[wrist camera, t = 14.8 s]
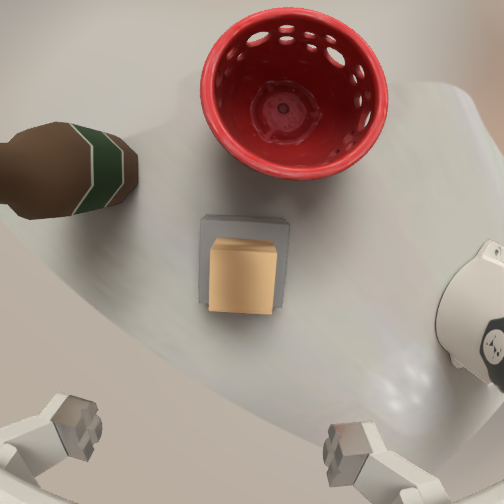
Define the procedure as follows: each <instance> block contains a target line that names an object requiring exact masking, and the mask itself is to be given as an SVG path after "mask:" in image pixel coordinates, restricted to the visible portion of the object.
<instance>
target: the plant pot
mask: <svg viewBox="0 0 504 504" xmlns="http://www.w3.org/2000/svg"><path fill="white" fill-rule="evenodd" d="M283 25H291V26H294V27H292V28H280V27H281V26H283ZM258 32H268V33H269V34H268V35H267V36H265V37H264V38H262V39H259V40H256V41H253V42H247V40H248V39H249V38H250V37H251V36H252V35H254V34H256V33H258ZM305 32H310V33H313V34H315V35H310V34H307V33H305ZM327 35H329V36H332V37H333V38H334V39H335V40H336V41H335V40H332V39H331V38H329V37H328V36H327ZM283 36H290V37H293V38H294V39H292V40H288V41H284V40H280V38H281V37H283ZM307 44H310V45H314V46H316V47H317V48H312V47H309V46H308V45H307ZM327 47H331V48H333V49H335V50H337V51H338V52H339V53H341V54H342V55H343V57H344V60H345V66H343V65H341V64H339V63H338V62H336V61H335V60H334V59H333V58H332V57H331V56H330V55H329V53H328V51H327ZM241 53H242V54H241ZM240 54H241V55H240ZM239 55H240V56H239ZM238 56H239V57H238ZM359 65H361V67H362V68H363V71H364V75H363V74H362V72H361V70H360V66H359ZM353 75H355V77H356V79H357V83H356V81H355V80H354V77H353ZM360 95H361V97H362V104H361V106H360V102H359V99H360ZM200 98H201V105H202V109H203V113H204V116H205V118H206V121H207V123H208V125H209V127H210V129H211V131H212V133H213V134H214V136H215V137H216V139H217V140H218V141H219V143H220V144H221V145H222V146H223V147H224V148H225V149H226V150H227V151H228V152H229V153H230V154H231V155H232V156H233V157H234V158H236V159H237V160H238V161H240V162H241V163H243V164H244V165H246V166H248V167H249V168H251V169H253V170H255V171H257V172H259V173H262V174H264V175H267V176H270V177H275V178H279V179H286V180H313V179H320V178H324V177H328V176H332V175H335V174H337V173H340V172H342V171H344V170H346V169H347V168H349V167H351V166H352V165H354V164H355V163H356V162H358V161H359V160H360V159H361V158H362V157H363V156H364V155H366V154H367V153H368V151H369V150H370V149H371V148H372V147H373V145H374V144H375V142H376V141H377V139H378V137H379V135H380V133H381V131H382V129H383V126H384V123H385V120H386V116H387V110H388V89H387V83H386V79H385V75H384V72H383V70H382V67H381V65H380V63H379V61H378V59H377V57H376V55H375V54H374V52H373V51H372V49H371V48H370V46H369V45H368V44H367V43H366V42H365V41H364V40H363V38H362V37H360V35H358V34H357V33H356V32H355V31H354V30H353V29H351V28H349V27H348V26H347V25H345V24H344V23H342V22H340V21H338V20H336V19H335V18H333V17H330V16H328V15H325V14H323V13H320V12H317V11H313V10H309V9H304V8H293V7H284V8H275V9H269V10H264V11H260V12H257V13H255V14H252V15H250V16H248V17H246V18H244V19H242V20H240V21H239V22H237V23H235V24H234V25H233V26H231V27H230V28H229V29H228V30H227V31H226V32H225V33H224V34H223V35H222V36H221V37H220V38H219V40H218V41H217V42H216V43H215V44H214V46H213V48H212V49H211V51H210V53H209V55H208V57H207V59H206V61H205V64H204V67H203V71H202V75H201V81H200ZM370 111H371V114H370V119H369V122H368V124H367V125H366V126H365V127H364V125H365V122H366V119H367V116H368V114H369V113H370Z"/></svg>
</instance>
